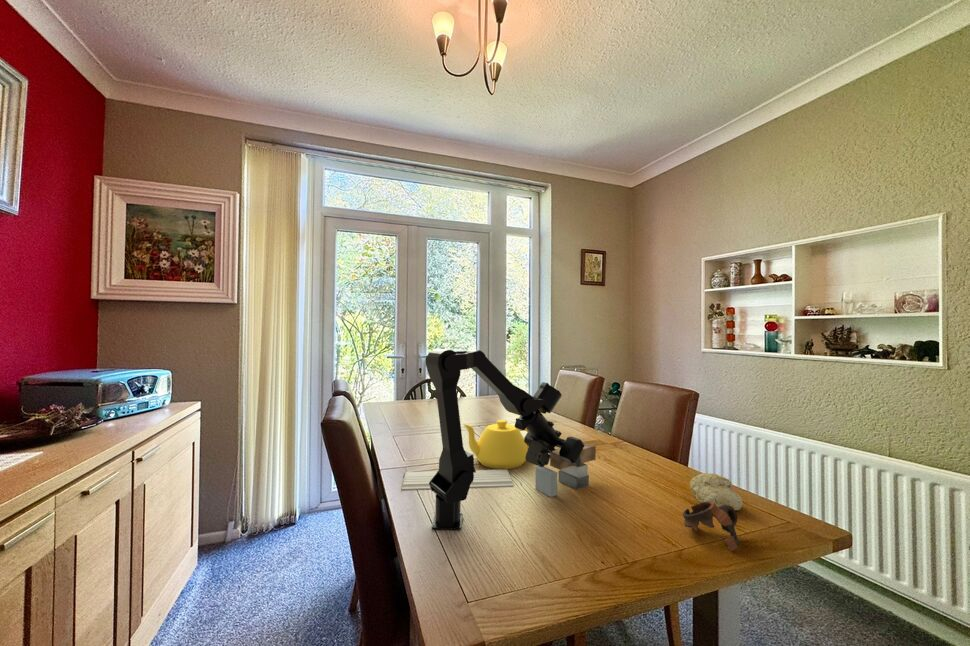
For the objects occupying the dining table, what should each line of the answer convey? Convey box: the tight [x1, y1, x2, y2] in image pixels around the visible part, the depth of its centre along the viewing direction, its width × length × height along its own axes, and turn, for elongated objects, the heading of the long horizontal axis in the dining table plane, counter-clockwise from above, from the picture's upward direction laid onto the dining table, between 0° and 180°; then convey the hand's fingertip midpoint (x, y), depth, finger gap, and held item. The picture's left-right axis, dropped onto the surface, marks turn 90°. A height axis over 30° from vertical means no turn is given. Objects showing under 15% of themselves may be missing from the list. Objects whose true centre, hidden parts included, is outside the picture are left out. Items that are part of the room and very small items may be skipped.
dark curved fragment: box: [681, 501, 740, 552], centre depth 80 cm, size 12×10×8 cm
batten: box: [549, 442, 597, 471], centre depth 107 cm, size 15×4×4 cm, turn 124°
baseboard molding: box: [400, 469, 514, 492], centre depth 107 cm, size 31×3×12 cm
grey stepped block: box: [558, 463, 590, 491], centre depth 107 cm, size 5×7×6 cm
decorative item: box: [689, 472, 743, 511], centre depth 95 cm, size 12×9×10 cm
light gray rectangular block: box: [535, 466, 558, 498], centre depth 101 cm, size 2×6×6 cm, turn 34°
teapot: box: [462, 419, 529, 470], centre depth 124 cm, size 25×18×14 cm
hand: (567, 460), depth 105 cm, fingers open, 9 cm apart
